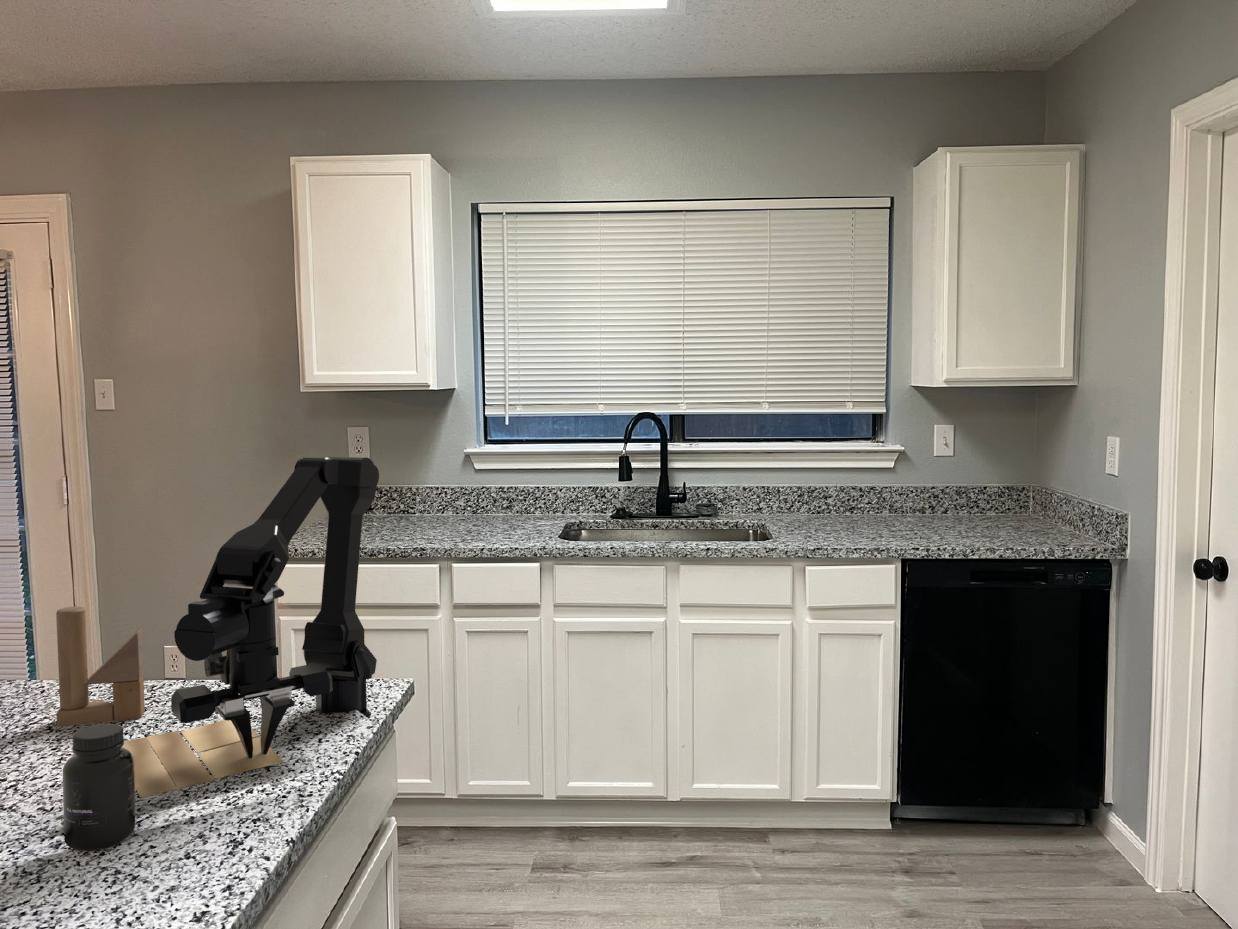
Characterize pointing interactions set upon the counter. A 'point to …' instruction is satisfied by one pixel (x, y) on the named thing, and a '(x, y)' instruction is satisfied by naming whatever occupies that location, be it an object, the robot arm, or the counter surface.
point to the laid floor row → (165, 764)
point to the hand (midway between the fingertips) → (256, 755)
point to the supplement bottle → (98, 789)
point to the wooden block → (96, 675)
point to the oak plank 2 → (237, 759)
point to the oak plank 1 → (213, 736)
